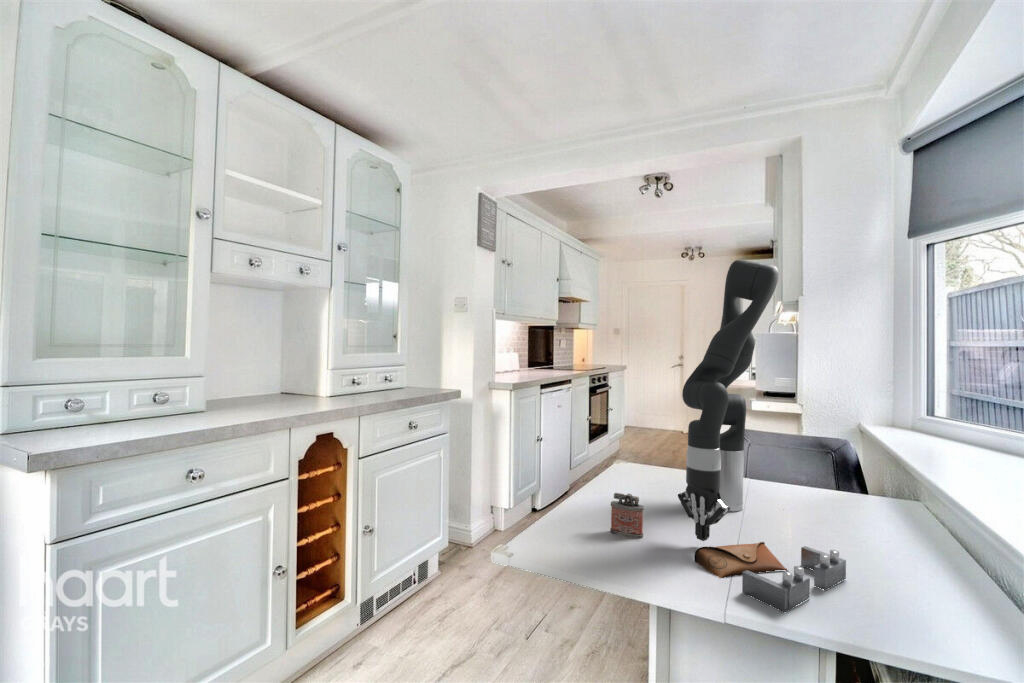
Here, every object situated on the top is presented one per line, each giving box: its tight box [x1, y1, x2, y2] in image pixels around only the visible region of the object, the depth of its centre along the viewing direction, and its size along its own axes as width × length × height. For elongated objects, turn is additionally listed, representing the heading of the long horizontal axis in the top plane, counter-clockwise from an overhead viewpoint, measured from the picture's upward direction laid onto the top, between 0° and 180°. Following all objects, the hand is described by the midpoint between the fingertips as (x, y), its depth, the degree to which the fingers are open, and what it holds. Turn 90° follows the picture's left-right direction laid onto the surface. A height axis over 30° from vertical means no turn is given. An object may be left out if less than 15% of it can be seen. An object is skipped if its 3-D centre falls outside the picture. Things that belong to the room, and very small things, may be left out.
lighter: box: [609, 492, 645, 540], centre depth 120 cm, size 8×3×10 cm, turn 65°
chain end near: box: [741, 565, 811, 613], centre depth 91 cm, size 8×9×6 cm
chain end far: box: [800, 545, 847, 591], centre depth 99 cm, size 8×9×6 cm
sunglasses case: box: [693, 541, 788, 579], centre depth 104 cm, size 18×7×7 cm, turn 104°
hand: (702, 539), depth 113 cm, fingers closed
